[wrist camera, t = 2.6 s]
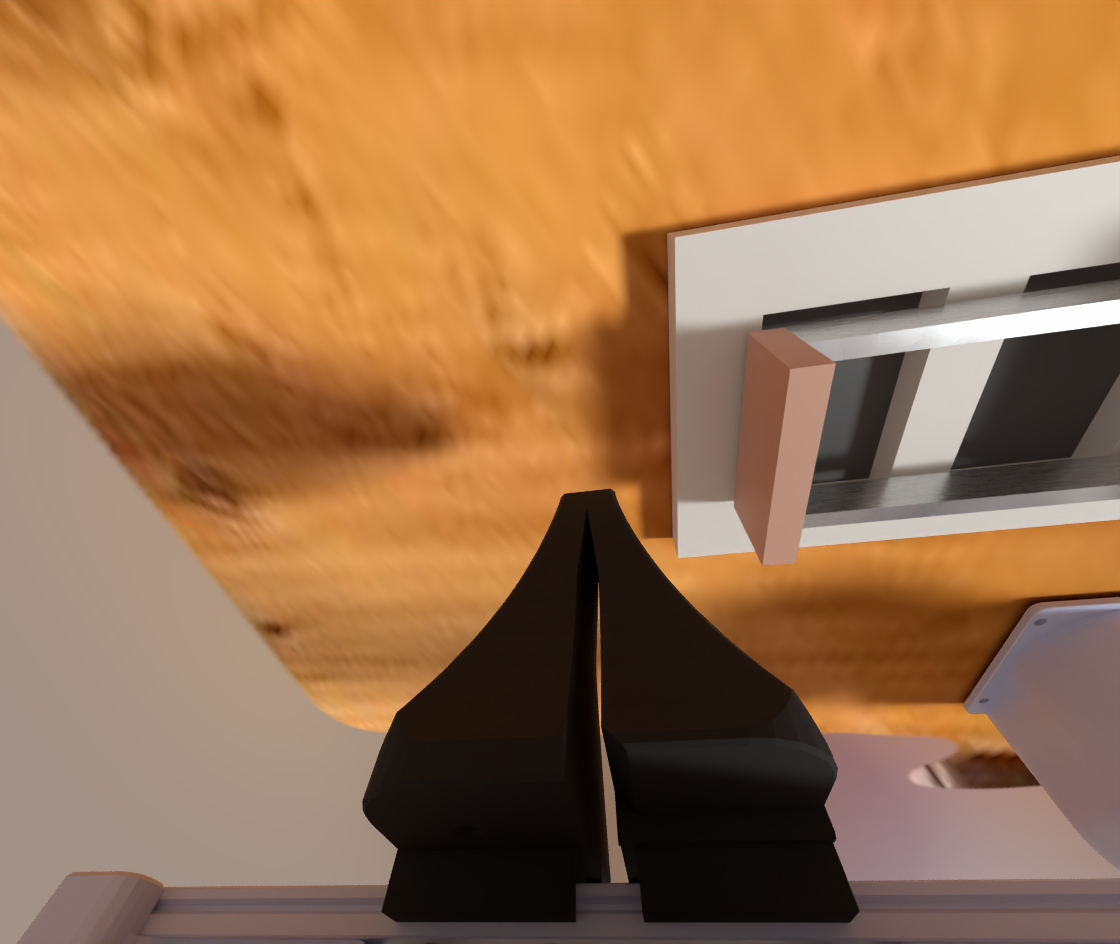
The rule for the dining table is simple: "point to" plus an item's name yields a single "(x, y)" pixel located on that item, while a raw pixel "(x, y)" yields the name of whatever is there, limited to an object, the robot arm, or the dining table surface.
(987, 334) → the steel sled
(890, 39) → the dining table surface
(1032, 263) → the track deck
